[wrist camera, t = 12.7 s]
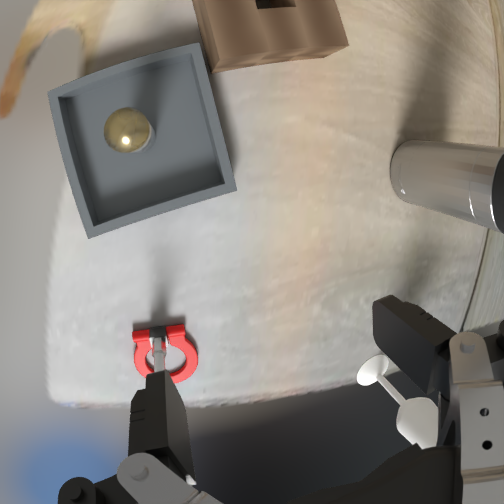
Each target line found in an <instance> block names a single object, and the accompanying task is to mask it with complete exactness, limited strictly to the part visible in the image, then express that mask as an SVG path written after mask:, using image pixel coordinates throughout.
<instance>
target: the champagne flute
mask: <svg viewBox="0 0 504 504" xmlns="http://www.w3.org/2000/svg"><path fill="white" fill-rule="evenodd" d="M387 367H388V358H387V357H386V356H385V355H376V356H374V357H372V358H370V359H369V360H367V361H366V362H365V363H364V364H363V365H362V367H361V368H360V370H359V372H358V374H357V381H358V383H359V384H361V385H370V384H372V383H374V382H376V381H377V380H378V381H379V382H380V383H381V385H382V386H383V387H384V388H385V389H386V390H387V391H388V392H389V393H390V394H391V396H392V397H393V398H394V399H395V400H396V401H397V402H398V403H399V404H400V405H401V406H400V408H399V411H398V415H397V429H398V431H399V432H400V433H401V434H402V435H403V436H404V437H405V438H407V440H408V441H410V442H411V443H412V444H415V443H416V442H417V444H418V445H419V446H420V447H421V448H422V449H424V448H429V447H434V446H436V443H437V438H438V408H437V406H436V405H435V404H434V403H433V401H432V400H430V399H428V398H424V397H422V398H420V397H418V398H413V399H408V400H405V399H404V398H403V397H402V396H401V394H400V393H399V392H398V391H397V390H396V389H395V388H394V387H393V386H392V385H391V384H390V383H389V382H388V381H387V380H386V379H385V378H384V376H383V374H384V373H385V371H386V370H387Z"/></svg>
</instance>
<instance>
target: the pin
mask: <svg viewBox="0 0 504 504" xmlns="http://www.w3.org/2000/svg"><path fill="white" fill-rule="evenodd" d="M104 138H105V141H106V143H107V144H108V145H109V147H110V148H112V149H113V150H115V151H117V152H122V153H141V152H145V151H147V150H149V149H150V148H151V147H152V146H153V144H154V143H155V139H156V134H155V131H154V129H153V127H152V126H151V124H150V123H149V121H148V120H147V118H146V117H145V115H144V114H143V113H142V112H141V111H139V110H138V109H135V108H132V107H125V108H120V109H118V110H116V111H115V112H113V113H112V114H111V115H110V116H109V117H108V119H107V121H106V123H105V126H104Z"/></svg>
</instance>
